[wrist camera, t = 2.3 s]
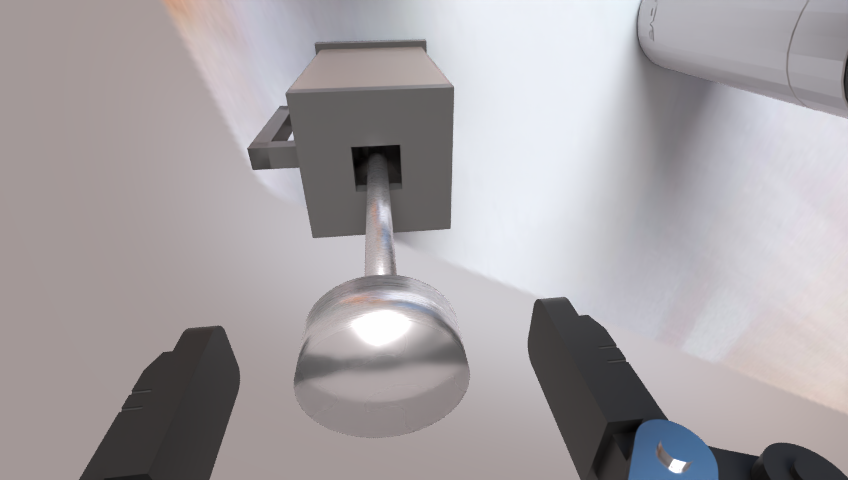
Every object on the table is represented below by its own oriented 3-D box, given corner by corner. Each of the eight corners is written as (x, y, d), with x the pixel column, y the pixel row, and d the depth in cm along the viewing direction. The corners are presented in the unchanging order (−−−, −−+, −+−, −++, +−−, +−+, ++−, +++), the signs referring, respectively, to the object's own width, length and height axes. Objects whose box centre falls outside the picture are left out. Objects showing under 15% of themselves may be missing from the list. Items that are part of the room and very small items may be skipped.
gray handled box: (424, 39, 32) (462, 77, 18) (425, 143, 36) (457, 234, 23) (281, 43, 31) (213, 86, 17) (301, 149, 35) (258, 248, 22)
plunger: (426, 87, 22) (526, 271, 8) (427, 186, 26) (500, 445, 11) (317, 91, 22) (209, 296, 7) (332, 191, 25) (277, 471, 11)
